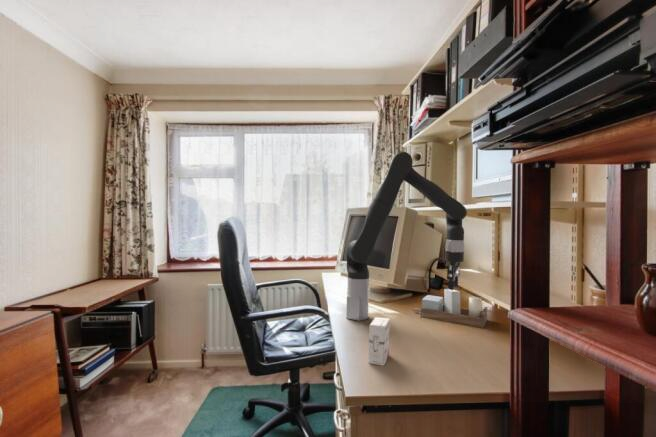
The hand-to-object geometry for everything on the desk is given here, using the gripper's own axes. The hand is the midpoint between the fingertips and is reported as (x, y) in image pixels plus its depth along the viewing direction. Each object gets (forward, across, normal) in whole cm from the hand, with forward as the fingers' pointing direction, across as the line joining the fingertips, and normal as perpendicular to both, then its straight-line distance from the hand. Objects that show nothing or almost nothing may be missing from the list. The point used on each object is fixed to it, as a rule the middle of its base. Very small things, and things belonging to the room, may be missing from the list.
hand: (453, 287), depth 142 cm
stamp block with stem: (+13, 0, -11) cm, 17 cm away
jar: (+13, 0, +9) cm, 16 cm away
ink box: (+15, +54, -11) cm, 57 cm away
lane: (+14, 0, +1) cm, 14 cm away
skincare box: (+13, 0, 0) cm, 13 cm away
